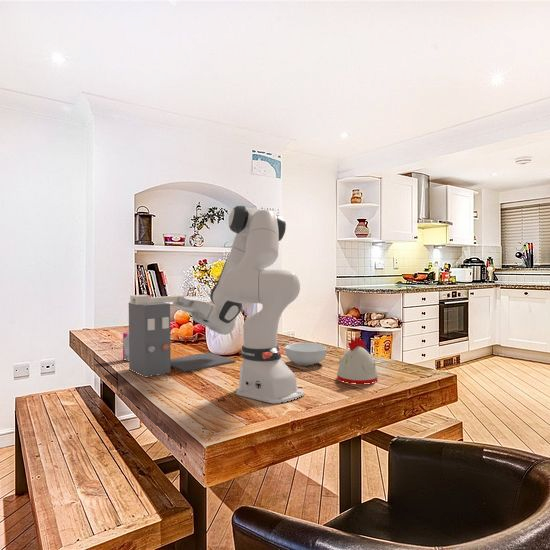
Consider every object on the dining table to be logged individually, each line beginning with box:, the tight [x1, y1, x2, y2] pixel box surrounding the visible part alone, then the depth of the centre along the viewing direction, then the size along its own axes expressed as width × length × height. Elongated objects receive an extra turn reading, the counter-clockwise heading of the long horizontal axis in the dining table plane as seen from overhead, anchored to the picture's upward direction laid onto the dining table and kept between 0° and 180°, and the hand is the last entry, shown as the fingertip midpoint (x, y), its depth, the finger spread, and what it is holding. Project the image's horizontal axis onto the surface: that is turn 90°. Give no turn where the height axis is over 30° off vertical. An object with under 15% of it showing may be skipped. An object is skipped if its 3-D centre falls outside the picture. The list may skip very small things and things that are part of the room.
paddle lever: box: [129, 294, 185, 305], centre depth 160 cm, size 6×20×3 cm, turn 132°
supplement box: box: [122, 332, 129, 360], centre depth 177 cm, size 6×6×12 cm
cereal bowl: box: [284, 342, 328, 367], centre depth 171 cm, size 17×17×7 cm
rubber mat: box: [171, 352, 236, 373], centre depth 172 cm, size 20×24×1 cm
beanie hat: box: [336, 336, 378, 384], centre depth 148 cm, size 14×14×15 cm
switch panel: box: [128, 302, 172, 377], centre depth 158 cm, size 15×10×26 cm
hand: (175, 297), depth 165 cm, fingers closed on paddle lever, 3 cm apart
